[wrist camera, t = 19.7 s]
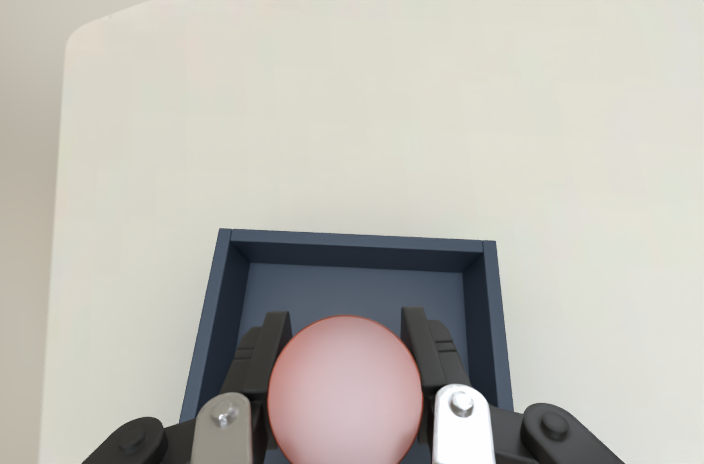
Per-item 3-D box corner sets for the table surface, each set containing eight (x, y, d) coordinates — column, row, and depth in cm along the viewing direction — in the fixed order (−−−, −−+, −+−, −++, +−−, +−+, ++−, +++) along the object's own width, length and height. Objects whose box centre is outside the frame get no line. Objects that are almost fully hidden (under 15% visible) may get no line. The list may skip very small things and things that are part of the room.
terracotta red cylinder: (305, 428, 17) (255, 482, 8) (313, 340, 18) (277, 310, 10) (391, 434, 17) (425, 493, 8) (391, 344, 18) (422, 318, 10)
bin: (194, 534, 20) (144, 583, 15) (243, 254, 26) (218, 227, 21) (492, 555, 19) (536, 613, 15) (470, 265, 26) (496, 240, 21)
